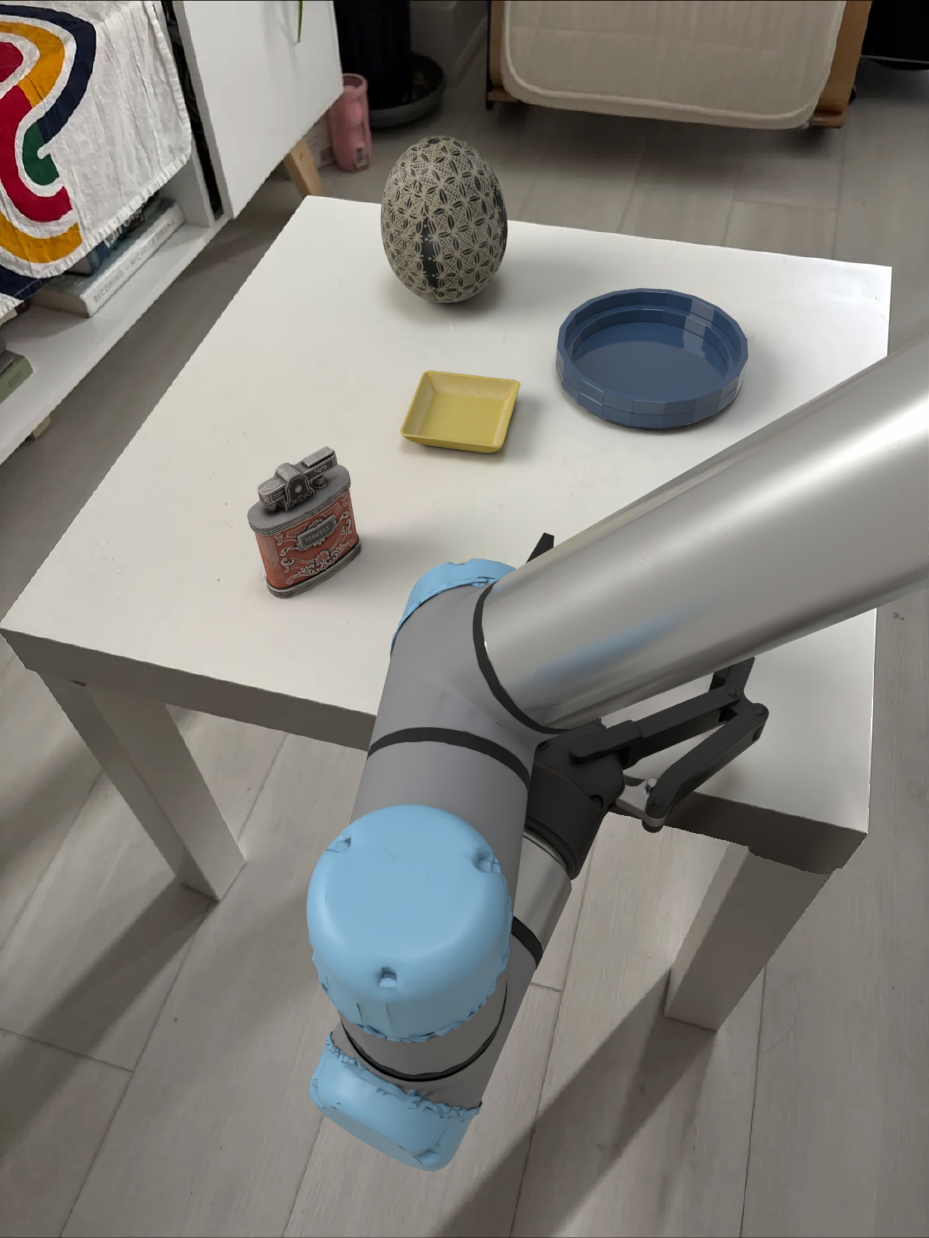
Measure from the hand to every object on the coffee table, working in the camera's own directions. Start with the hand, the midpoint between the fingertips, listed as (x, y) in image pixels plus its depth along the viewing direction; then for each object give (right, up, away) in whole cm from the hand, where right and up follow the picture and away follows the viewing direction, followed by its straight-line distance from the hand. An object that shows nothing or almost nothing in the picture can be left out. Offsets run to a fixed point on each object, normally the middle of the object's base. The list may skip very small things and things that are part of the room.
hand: (644, 578), depth 64 cm
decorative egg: (-13, +29, +31) cm, 45 cm away
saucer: (-12, +14, +19) cm, 26 cm away
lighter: (-23, +1, +10) cm, 25 cm away
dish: (+4, +19, +23) cm, 30 cm away
